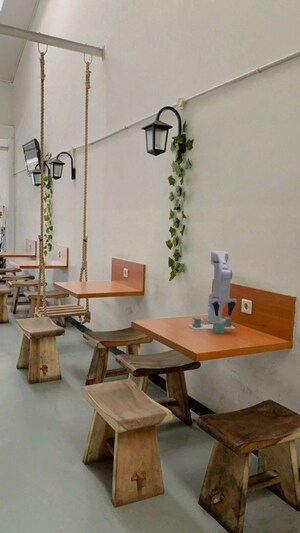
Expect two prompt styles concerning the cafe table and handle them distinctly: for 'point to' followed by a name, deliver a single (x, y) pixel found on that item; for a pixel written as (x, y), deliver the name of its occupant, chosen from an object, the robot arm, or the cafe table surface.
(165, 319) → the cafe table surface
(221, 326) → the teal block
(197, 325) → the shaft stand
